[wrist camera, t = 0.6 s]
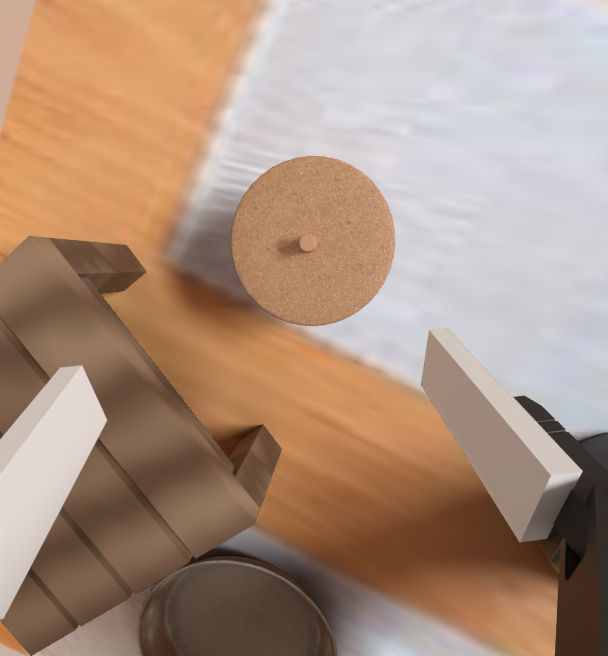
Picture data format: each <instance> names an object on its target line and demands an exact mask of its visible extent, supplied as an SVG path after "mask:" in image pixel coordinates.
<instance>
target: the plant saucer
mask: <svg viewBox="0 0 608 656" xmlns="http://www.w3.org/2000/svg"><path fill="white" fill-rule="evenodd" d="M138 642H139V648H140V652H141V655H142V656H337V648H336V643H335V639H334V636H333V633H332V631H331V628H330V626H329V624H328V622H327V620H326V618H325V616H324V614H323V613H322V611H321V609H320V608H319V606H318V605H317V603H316V602H315V600H314V599H313V598H312V597H311V595H310V594H309V593H308V592H307V591H306V590H305V589H304V588H303V587H302V586H301V585H300V584H299V583H298V582H297V581H295V580H294V579H293V578H292V577H290V576H289V575H287V574H286V573H284V572H283V571H281V570H280V569H278V568H276V567H274V566H272V565H270V564H267V563H265V562H262V561H259V560H255V559H251V558H246V557H239V556H218V557H211V558H206V559H202V560H199V561H196V562H193V563H190V564H188V565H186V566H183V567H181V568H180V569H178V570H176V571H174V572H173V573H171V574H169V575H168V576H166V577H165V578H164V579H163V580H161V581H160V582H159V583H158V584H157V585H156V586H155V587H154V588H153V589H152V591H151V592H150V594H149V595H148V597H147V598H146V600H145V602H144V604H143V607H142V610H141V613H140V616H139V622H138Z"/></svg>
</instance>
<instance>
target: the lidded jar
mask: <svg viewBox="0 0 608 656" xmlns="http://www.w3.org/2000/svg"><path fill="white" fill-rule="evenodd" d="M394 249H395V229H394V224H393V219H392V215H391V212H390V210H389V207H388V204H387V202H386V201H385V199H384V197H383V195H382V194H381V192H380V190H379V189H378V188H377V187H376V186H375V184H374V183H373V182H372V181H371V180H370V179H369V178H368V177H367V176H366V175H365V174H363V173H362V172H361V171H359V170H358V169H356V168H355V167H353V166H351V165H350V164H347V163H345V162H342V161H340V160H337V159H333V158H328V157H321V156H307V157H299V158H295V159H291V160H288V161H285V162H283V163H281V164H278V165H276V166H274V167H272V168H271V169H270V170H268V171H267V172H265V173H264V174H263V175H261V176H260V177H259V178H258V179H257V180H256V181H255V182H254V183H253V184H252V185H251V187H250V188H249V189H248V191H247V192H246V193H245V195H244V196H243V198H242V200H241V202H240V204H239V206H238V208H237V211H236V214H235V217H234V220H233V225H232V230H231V253H232V260H233V263H234V267H235V271H236V273H237V275H238V278H239V280H240V282H241V284H242V285H243V287H244V289H245V290H246V292H247V293H248V294H249V296H250V297H251V298H252V299H253V300H254V301H255V303H257V304H258V305H259V306H260V307H261V308H262V309H264V310H265V311H266V312H268V313H270V314H271V315H273V316H274V317H276V318H279V319H281V320H283V321H286V322H289V323H293V324H297V325H306V326H318V325H326V324H331V323H335V322H338V321H340V320H343V319H345V318H348V317H349V316H351V315H353V314H355V313H356V312H358V311H359V310H360V309H362V308H363V307H364V306H365V305H367V304H368V303H369V302H370V301H371V300H372V298H373V297H374V296H375V295H376V294H377V293H378V291H379V290H380V288H381V287H382V285H383V284H384V282H385V280H386V278H387V275H388V273H389V271H390V268H391V264H392V261H393V257H394Z"/></svg>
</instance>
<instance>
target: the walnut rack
mask: <svg viewBox="0 0 608 656" xmlns="http://www.w3.org/2000/svg"><path fill="white" fill-rule="evenodd" d="M146 272H147V271H146V270H145V269H144V268H143V266H142V265H141V264H140V262H139V261H138V260H137V258H136V257H135V256H134V254H133V253H132V252H131V250H130V249H129V248H128V247H127V245H120V244H109V243H99V242H88V241H77V240H66V239H56V238H45V237H34V236H29V237H27V238H26V239H25V240H24V241H23V242H22V243H21V244H20V245H19V246H18V247H17V248H16V249H15V250H14V251H13V252H12V253H11V254H10V255H9V256H8V257H7V258H6V259H5V260H4V261H3V262H2V263H1V264H0V439H1V438H2V437H3V436H4V434H5V433H6V432H7V431H8V430H9V428H10V427H11V426H12V425H13V424H14V422H15V421H16V420H17V419H18V418H19V416H20V415H21V414H22V413H23V412H24V410H25V409H26V408H27V407H28V406H29V404H30V403H31V402H32V401H33V400H34V398H35V397H36V396H37V395H38V394H39V392H40V391H41V390H42V389H43V388H44V386H45V385H46V384H47V383H48V382H49V380H50V379H51V378H52V377H53V376H54V374H55V373H56V372H57V371H58V370H59V368H61V367H71V366H80V365H82V366H83V369H84V371H85V373H86V375H87V377H88V379H89V382H90V384H91V386H92V388H93V390H94V393H95V395H96V397H97V399H98V401H99V403H100V406H101V408H102V410H103V412H104V414H105V417H106V419H107V422H106V424H105V426H104V427H103V429H102V431H101V433H100V435H99V437H98V439H97V441H96V443H95V445H94V447H93V449H92V450H91V452H90V454H89V456H88V458H87V460H86V462H85V464H84V466H83V468H82V470H81V471H80V473H79V475H78V477H77V479H76V481H75V483H74V485H73V487H72V489H71V491H70V492H69V494H68V496H67V498H66V500H65V502H64V504H63V506H62V508H61V510H60V512H59V514H58V515H57V517H56V519H55V521H54V523H53V525H52V527H51V529H50V531H49V533H48V535H47V536H46V538H45V540H44V542H43V544H42V546H41V548H40V550H39V552H38V554H37V556H36V557H35V559H34V561H33V563H32V565H31V567H30V569H29V571H28V573H27V575H26V577H25V579H24V580H23V582H22V584H21V586H20V588H19V590H18V592H17V594H16V596H15V598H14V600H13V601H12V603H11V605H10V607H9V609H8V611H7V613H6V615H5V617H4V619H0V621H1V622H2V623H3V624H4V626H5V627H6V628H7V629H8V630H9V631H10V632H11V634H12V635H13V636H14V637H15V638H16V639H17V640H18V642H19V643H20V644H21V645H22V646H23V647H24V648H25V650H26V651H27V652H28V653H29V654H30V655H31V656H32V655H34V654H35V653H37V652H39V651H40V650H42V649H44V648H45V647H47V646H49V645H51V644H52V643H54V642H56V641H57V640H59V639H61V638H62V637H64V636H66V635H67V634H69V633H71V632H73V631H74V630H76V628H77V627H78V626H79V625H80V626H83V625H84V624H86V623H88V622H89V621H91V620H93V619H95V618H96V617H98V616H100V615H101V614H103V613H105V612H106V611H108V610H110V609H111V608H113V607H115V606H117V605H118V604H120V603H122V602H123V601H125V600H127V599H128V598H130V596H131V595H132V593H133V592H134V593H135V594H137V593H139V592H140V591H142V590H144V589H145V588H147V587H149V586H150V585H152V584H154V583H155V582H157V581H159V580H161V579H162V578H164V577H166V576H167V575H169V574H171V573H172V572H174V571H176V570H178V569H179V568H181V567H183V566H184V565H186V564H188V563H189V562H190V560H191V558H192V556H194V557H195V558H198V557H200V556H201V555H203V554H205V553H206V552H208V551H210V550H211V549H213V548H215V547H216V546H218V545H220V544H222V543H223V542H225V541H227V540H228V539H230V538H232V537H233V536H235V535H237V534H238V533H240V532H242V531H244V530H245V529H247V528H249V527H250V526H252V525H254V524H255V522H256V519H257V516H258V513H259V511H260V508H261V505H262V502H263V500H264V497H265V494H266V491H267V489H268V486H269V483H270V480H271V477H272V475H273V472H274V469H275V466H276V464H277V461H278V458H279V455H280V453H281V450H282V449H281V447H280V446H279V445H278V443H277V442H276V441H275V439H274V438H273V437H272V435H271V434H270V433H269V432H268V430H267V429H266V428H265V426H264V425H262V426H260V427H259V428H257V429H256V430H254V431H253V432H251V433H250V434H248V435H247V436H245V437H244V438H242V439H241V440H239V442H238V443H237V445H236V447H235V448H234V450H233V452H232V453H231V455H230V456H229V458H228V457H227V456H226V455H225V453H224V452H223V451H222V449H221V448H220V447H219V446H218V444H217V443H216V442H215V440H214V439H213V438H212V437H211V435H210V434H209V433H208V431H207V430H206V429H205V428H204V426H203V425H202V424H201V422H200V421H199V420H198V419H197V417H196V416H195V415H194V413H193V412H192V411H191V410H190V408H189V407H188V406H187V404H186V403H185V402H184V401H183V399H182V398H181V397H180V395H179V394H178V393H177V392H176V390H175V389H174V388H173V386H172V385H171V384H170V383H169V381H168V380H167V379H166V377H165V376H164V375H163V374H162V372H161V371H160V370H159V368H158V367H157V366H156V365H155V363H154V362H153V361H152V359H151V358H150V357H149V356H148V354H147V353H146V352H145V350H144V349H143V348H142V347H141V345H140V344H139V343H138V341H137V340H136V339H135V337H134V336H133V335H132V334H131V332H130V331H129V330H128V328H127V327H126V326H125V325H124V323H123V322H122V321H121V319H120V318H119V317H118V316H117V314H116V313H115V312H114V310H113V309H112V308H111V307H110V305H109V304H108V303H107V301H106V300H105V299H104V298H103V296H102V295H101V293H109V292H118V291H125V290H126V289H127V288H128V287H129V286H130V285H132V284H133V283H134V282H135V281H136V280H138V279H139V278H140V277H141V276H142V275H143V274H145V273H146Z"/></svg>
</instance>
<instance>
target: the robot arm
mask: <svg viewBox="0 0 608 656" xmlns="http://www.w3.org/2000/svg"><path fill="white" fill-rule="evenodd" d="M421 386H422V387H423V389H424V391H425V392H426V394H427V395H428V397H429V398H430V400H431V402H432V403H433V405H434V406H435V408H436V410H437V411H438V413H439V414H440V416H441V418H442V419H443V421H444V422H445V424H446V426H447V427H448V429H449V430H450V432H451V434H452V435H453V437H454V438H455V440H456V442H457V443H458V445H459V446H460V448H461V450H462V451H463V453H464V454H465V456H466V458H467V459H468V461H469V462H470V464H471V466H472V467H473V469H474V470H475V472H476V474H477V475H478V477H479V478H480V480H481V482H482V483H483V485H484V486H485V488H486V490H487V491H488V493H489V494H490V496H491V498H492V499H493V501H494V502H495V504H496V506H497V507H498V509H499V510H500V512H501V514H502V515H503V517H504V518H505V520H506V521H507V523H508V525H509V526H510V528H511V529H512V531H513V533H514V534H515V536H516V537H517V539H518V541H519V542H520V543H521V542H527V541H534V540H535V541H536V543H537V545H538V546H539V548H540V549H541V551H542V552H543V554H544V555H545V557H546V558H547V560H548V561H549V563H550V564H551V566H552V567H553V568H554V570H555V571H556V572H557V573H558V574H559V583H558V604H557V624H556V645H555V656H608V434H604V435H600V436H596V437H593V438H590V439H587V440H585V441H583V442H580V443H579V442H578V441H577V440H576V439H575V438H574V437H573V436H572V435H571V434H570V433H569V432H566V431H565V428H564V427H563V426H562V425H561V424H560V423H559V422H558V421H555V419H554V418H553V417H552V416H551V415H550V414H549V413H548V412H547V411H546V410H545V409H544V408H543V407H542V406H541V405H539V404H538V403H536V402H534V401H533V400H531V399H529V398H528V397H526V396H518V397H513V396H512V395H511V394H510V393H509V392H508V391H507V390H506V389H505V388H504V387H503V386H502V385H501V384H500V383H499V382H498V381H497V379H496V378H495V377H494V376H493V375H492V374H491V373H490V372H489V371H488V370H487V369H486V368H485V367H484V366H483V365H482V364H481V362H480V361H479V360H478V359H477V358H476V357H475V356H474V355H473V354H472V353H471V352H470V351H469V350H468V349H467V348H466V346H465V345H464V344H463V343H462V342H461V341H460V340H459V339H458V338H457V337H456V336H455V335H454V334H453V333H452V332H451V331H450V329H449V328H443V329H433V330H429V335H428V341H427V348H426V355H425V361H424V368H423V375H422V381H421ZM106 422H107V419H106V417H105V414H104V412H103V410H102V408H101V406H100V403H99V401H98V399H97V397H96V395H95V393H94V390H93V388H92V386H91V384H90V382H89V379H88V377H87V375H86V373H85V371H84V369H83V366H82V365H80V366H71V367H61V368H59V370H58V371H57V372H56V373H55V374H54V376H53V377H52V378H51V379H50V380H49V382H48V383H47V384H46V385H45V386H44V388H43V389H42V390H41V391H40V392H39V394H38V395H37V396H36V397H35V398H34V400H33V401H32V402H31V403H30V404H29V406H28V407H27V408H26V409H25V410H24V412H23V413H22V414H21V415H20V416H19V418H18V419H17V420H16V421H15V422H14V424H13V425H12V426H11V427H10V428H9V430H8V431H7V432H6V433H5V434H4V436H3V437H2V438H1V439H0V619H4V617H5V615H6V613H7V611H8V609H9V607H10V605H11V603H12V601H13V600H14V598H15V596H16V594H17V592H18V590H19V588H20V586H21V584H22V582H23V580H24V579H25V577H26V575H27V573H28V571H29V569H30V567H31V565H32V563H33V561H34V559H35V557H36V556H37V554H38V552H39V550H40V548H41V546H42V544H43V542H44V540H45V538H46V536H47V535H48V533H49V531H50V529H51V527H52V525H53V523H54V521H55V519H56V517H57V515H58V514H59V512H60V510H61V508H62V506H63V504H64V502H65V500H66V498H67V496H68V494H69V492H70V491H71V489H72V487H73V485H74V483H75V481H76V479H77V477H78V475H79V473H80V471H81V470H82V468H83V466H84V464H85V462H86V460H87V458H88V456H89V454H90V452H91V450H92V449H93V447H94V445H95V443H96V441H97V439H98V437H99V435H100V433H101V431H102V429H103V427H104V426H105V424H106Z"/></svg>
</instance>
